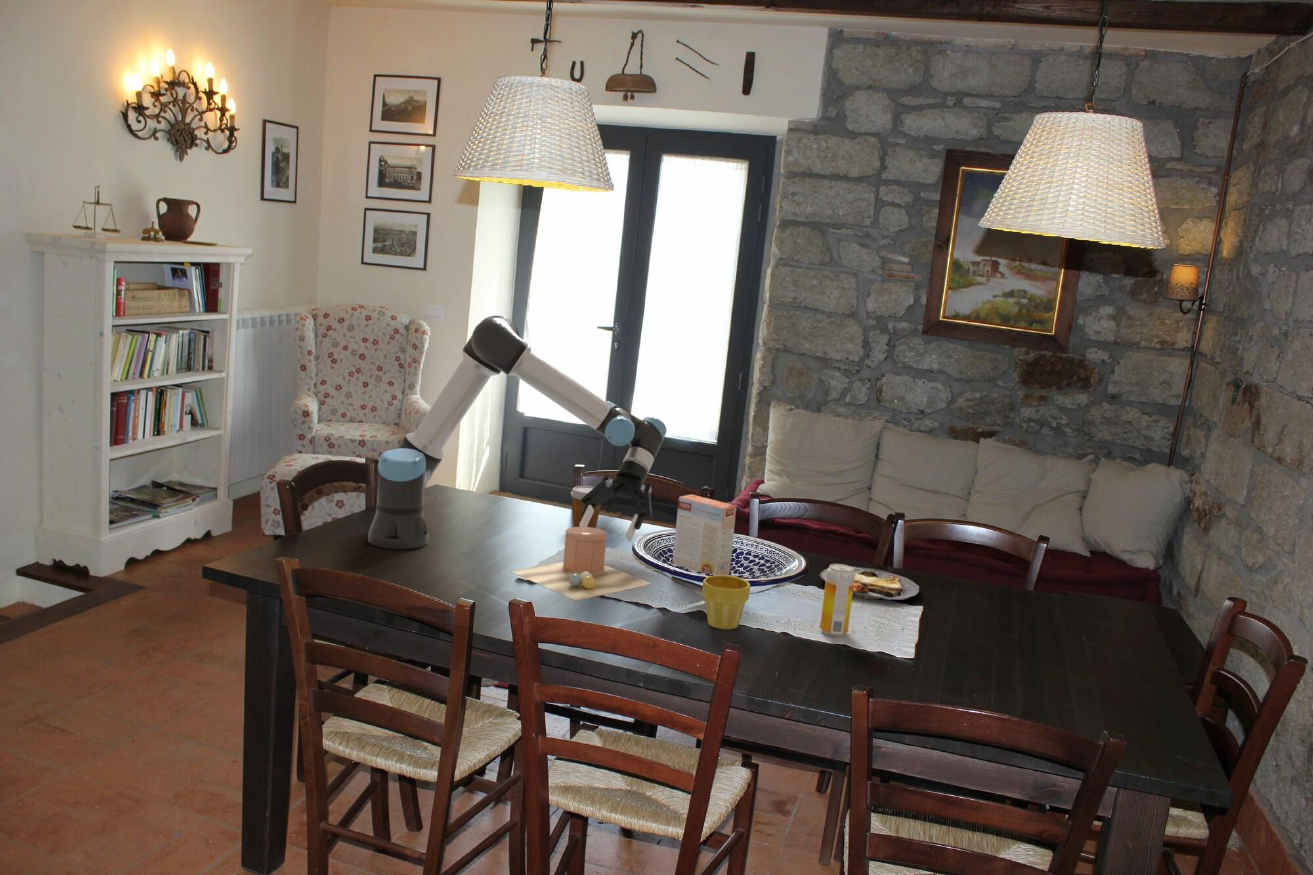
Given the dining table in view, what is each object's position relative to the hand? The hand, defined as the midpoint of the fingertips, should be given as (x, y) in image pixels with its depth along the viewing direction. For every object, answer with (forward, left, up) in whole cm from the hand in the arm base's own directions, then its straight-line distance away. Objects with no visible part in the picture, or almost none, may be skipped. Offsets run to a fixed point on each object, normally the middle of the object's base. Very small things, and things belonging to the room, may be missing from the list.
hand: (604, 533), depth 256 cm
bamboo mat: (+9, -16, -7) cm, 20 cm away
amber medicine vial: (+65, +9, -8) cm, 67 cm away
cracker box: (+25, +9, -8) cm, 28 cm away
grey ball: (+14, -21, -7) cm, 26 cm away
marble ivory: (+14, -18, -7) cm, 23 cm away
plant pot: (+48, -9, -8) cm, 50 cm away
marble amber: (+16, -20, -7) cm, 26 cm away
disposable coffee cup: (-25, +15, -8) cm, 30 cm away
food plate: (+51, +45, -8) cm, 69 cm away
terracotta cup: (+3, -10, -7) cm, 12 cm away
